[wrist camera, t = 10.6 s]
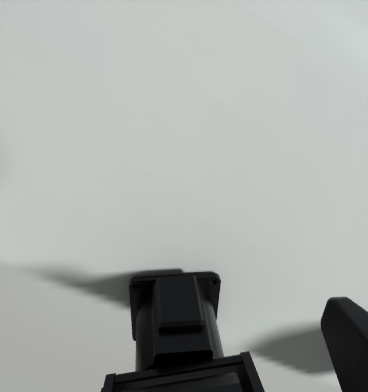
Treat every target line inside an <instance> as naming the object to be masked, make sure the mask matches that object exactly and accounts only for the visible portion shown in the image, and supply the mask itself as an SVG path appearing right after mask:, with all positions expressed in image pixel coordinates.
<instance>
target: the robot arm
mask: <svg viewBox="0 0 368 392" xmlns="http://www.w3.org/2000/svg"><path fill="white" fill-rule="evenodd" d="M212 280H214V281H212ZM135 284H138V285H135ZM220 284H221V280H220V276H219V275H218V274H216V273H206V274H185V275H165V276H145V277H133V278H132V279H131V280H130V282H129V290H130V305H131V321H132V335H133V340H134V341H136V372H130V373H124V374H118V375H116V373H114V374H108V375H106V378H105V382H104V387H103V388H102V389H101V392H265V391H264V389H263V386H262V384H261V381H260V378H259V376H258V373H257V371H256V368H255V366H254V363H253V361H252V358H251V355H250V353H249V351H248V352H242V353H240V354H239V355H233V356H227V357H224V354H223V350H222V345H221V341H220V336H219V332H218V327H217V323H216V318H217V310H218V301H219V293H220ZM321 329H322V333H323V336H324V339H325V342H326V345H327V348H328V351H329V354H330V357H331V360H332V363H333V366H334V369H335V372H336V375H337V378H338V381H339V384H340V387H341V389H342V392H368V312H367V311H366V310H364V309H363V308H362V307H360V306H359V305H357V304H356V303H355V302H353V301H352V300H351V299H349V298H347V297H332V298H330V299H329V300H328V301H327V304H326V307H325V310H324V312H323V315H322V318H321Z"/></svg>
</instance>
